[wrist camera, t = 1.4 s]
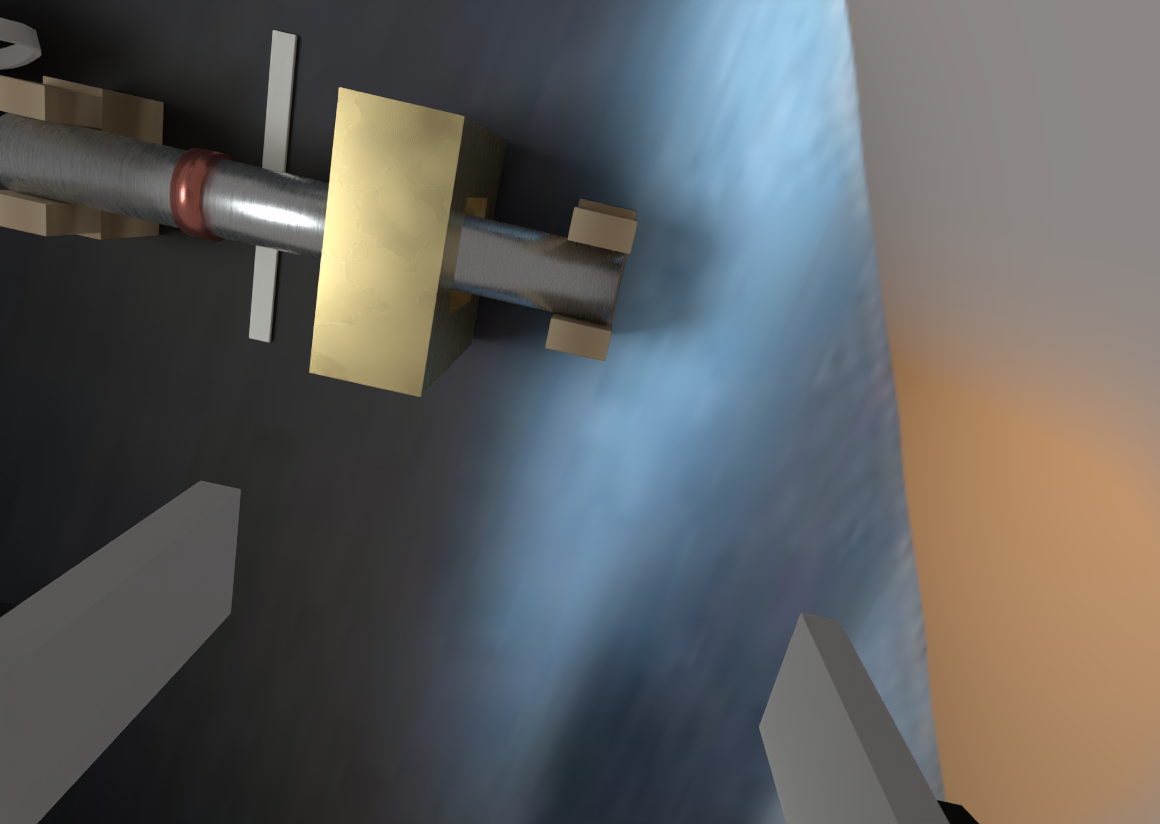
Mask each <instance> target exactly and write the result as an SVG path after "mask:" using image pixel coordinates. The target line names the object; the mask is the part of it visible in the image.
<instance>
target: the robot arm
mask: <svg viewBox="0 0 1160 824" xmlns="http://www.w3.org/2000/svg"><path fill="white" fill-rule="evenodd" d="M240 493H241V489H236V488H232V487H227V486H222V485H218V484H213V483H209V482H204V481H200V482H198V483H197V484H195V485H194V486H192V487H191V488H189V489H188V490H186V491H185V492H183V493H182V494H181V495H179V496H178V497H176V498H175V499H173V500H172V501H170V502H169V503H167V504H166V505H164V506H163V507H162V508H160V509H159V510H157V511H156V512H154V513H153V514H151V515H150V516H148V517H147V518H145V519H144V520H142V521H141V522H140V523H138V524H137V525H135V526H134V527H132V528H131V529H129V530H128V531H126V532H125V533H123V534H122V535H121V536H119V537H118V538H116V539H115V540H113V541H112V542H110V543H109V544H107V545H106V546H104V547H103V548H102V549H100V550H99V551H97V552H96V553H94V554H93V555H91V556H90V557H88V558H87V559H85V560H84V561H82V562H81V563H80V564H78V565H77V566H75V567H74V568H72V569H71V570H69V571H68V572H66V573H65V574H63V575H62V576H61V577H59V578H58V579H56V580H55V581H53V582H52V583H50V584H49V585H47V586H46V587H44V588H43V589H42V590H40V591H39V592H37V593H36V594H34V595H33V596H31V597H30V598H28V599H27V600H25V601H24V602H23V603H21V604H20V605H18V606H17V605H12V604H7V603H3V602H0V824H37V823H38V822H39V821H40V820H41V818H42V817H43V816H44V815H45V814H46V813H47V812H48V811H49V810H50V809H51V808H52V807H53V805H54V804H55V803H56V802H57V801H58V800H59V799H60V798H61V797H62V796H63V795H64V793H65V792H66V791H67V790H68V789H69V788H70V787H71V786H72V785H73V784H74V783H75V782H76V780H77V779H78V778H79V777H80V776H81V775H82V774H83V773H84V772H85V771H86V770H87V769H88V767H89V766H90V765H91V764H92V763H93V762H94V761H95V760H96V759H97V758H98V757H99V755H100V754H101V753H102V752H103V751H104V750H105V749H106V748H107V747H108V746H109V745H110V744H111V742H112V741H113V740H114V739H115V738H116V737H117V736H118V735H119V734H120V733H121V732H122V731H123V729H124V728H125V727H126V726H127V725H128V724H129V723H130V722H131V721H132V720H133V719H134V717H135V716H136V715H137V714H138V713H139V712H140V711H141V710H142V709H143V708H144V707H145V706H146V704H147V703H148V702H149V701H150V700H151V699H152V698H153V697H154V696H155V695H156V694H157V693H158V691H159V690H160V689H161V688H162V687H163V686H164V685H165V684H166V683H167V682H168V681H169V680H170V678H171V677H172V676H173V675H174V674H175V673H176V672H177V671H178V670H179V669H180V668H181V666H182V665H183V664H184V663H185V662H186V661H187V660H188V659H189V658H190V657H191V656H192V655H193V653H194V652H195V651H196V650H197V649H198V648H199V647H200V646H201V645H202V644H203V643H204V642H205V640H206V639H207V638H208V637H209V636H210V635H211V634H212V633H213V632H214V631H215V630H216V628H217V627H218V626H219V625H220V624H221V623H222V622H223V621H224V620H225V619H226V618H227V617H228V615H229V614H230V613H231V602H232V590H233V578H234V566H235V554H236V541H237V529H238V517H239V505H240ZM759 729H760V732H761V736H762V739H763V743H764V746H765V750H766V753H767V757H768V761H769V764H770V768H771V771H772V775H773V778H774V782H775V785H776V789H777V793H778V796H779V800H780V803H781V807H782V810H783V814H784V817H785V821H786V824H979V823H978V822H977V821H976V820H975V819H974V818H973V817H972V816H971V815H970V814H969V813H968V812H967V811H966V810H965V809H964V807H963V806H962V805H957V804H952V803H948V802H943V801H939V800H936V798H935V796H934V794H933V793H932V791H931V789H930V787H929V785H928V783H927V781H926V780H925V778H924V776H923V774H922V772H921V770H920V769H919V767H918V765H917V763H916V761H915V759H914V758H913V756H912V754H911V752H910V750H909V748H908V747H907V745H906V743H905V741H904V739H903V737H902V735H901V734H900V732H899V730H898V728H897V726H896V724H895V723H894V721H893V719H892V717H891V715H890V713H889V712H888V710H887V708H886V706H885V704H884V702H883V701H882V699H881V697H880V695H879V693H878V691H877V689H876V688H875V686H874V684H873V682H872V680H871V678H870V677H869V675H868V673H867V671H866V669H865V667H864V666H863V664H862V662H861V660H860V658H859V656H858V655H857V653H856V651H855V649H854V647H853V645H852V643H851V642H850V640H849V638H848V636H847V634H846V632H845V631H844V629H843V627H842V625H841V623H840V621H837V620H833V619H828V618H823V617H819V616H814V615H810V614H805V613H800V616H799V619H798V622H797V624H796V627H795V630H794V633H793V635H792V638H791V641H790V644H789V646H788V649H787V652H786V655H785V657H784V660H783V663H782V665H781V668H780V671H779V674H778V676H777V679H776V682H775V685H774V687H773V690H772V693H771V696H770V698H769V701H768V704H767V707H766V709H765V712H764V715H763V718H762V720H761V723H760V726H759Z"/></svg>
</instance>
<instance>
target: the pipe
mask: <svg viewBox="0 0 1160 824" xmlns="http://www.w3.org/2000/svg"><path fill="white" fill-rule="evenodd" d="M0 183H1V184H2V185H3V186H5V187H6V188H8V189H10V190H13V191H17V192H21V193H26V194H30V195H35V196H39V197H44V198H48V199H52V200H57V201H61V202H66V203H70V204H75V205H79V206H84V207H88V208H92V209H97V210H101V211H106V212H110V213H115V214H119V215H123V216H128V217H132V218H137V219H141V220H146V221H150V222H155V223H159V224H163V225H168V226H172V227H177V228H179V229H180V230H181V231H182V232H183V233H184V234H186V235H189V236H194V237H198V238H203V239H207V240H211V241H221V240H224V239H225V238H226V239H230V240H234V241H239V242H243V243H248V244H252V245H257V246H261V247H265V248H270V249H274V250H279V251H283V252H288V253H292V254H297V255H301V256H305V257H310V258H314V259H319V260H321V257H322V247H323V238H324V228H325V219H326V209H327V200H328V190H329V183H327V182H323V181H319V180H314V179H310V178H305V177H301V176H297V175H292V174H288V173H283V172H279V171H275V170H270V169H266V168H261V167H257V166H253V165H248V164H244V163H240V162H235V161H234V160H233V158H232V157H230V156H229V155H227V154H224V153H220V152H215V151H211V150H206V149H202V148H191V149H189V150H183V149H178V148H174V147H169V146H165V145H161V144H156V143H152V142H147V141H143V140H139V139H134V138H130V137H126V136H121V135H117V134H112V133H108V132H104V131H99V130H95V129H90V128H86V127H82V126H77V125H72V124H64V123H57V122H50V121H44V120H39V119H35V118H30V117H26V116H22V115H17V114H13V113H6V114H4V115H2V116H1V117H0ZM623 256H624V253H623V252H618V251H614V250H610V249H605V248H601V247H596V246H592V245H588V244H583V243H579V242H574V241H570V240H568V237H564V236H560V235H555V234H551V233H547V232H542V231H538V230H533V229H529V228H525V227H520V226H516V225H511V224H507V223H503V222H498V221H494V220H490V219H485V218H481V217H476V216H472V215H468V214H464V220H463V226H462V232H461V238H460V244H459V251H458V257H457V263H456V269H455V275H454V281H453V287H452V290H456V291H461V292H465V293H470V294H474V295H478V296H483V297H487V298H492V299H496V300H501V301H505V302H510V303H514V304H518V305H523V306H527V307H532V308H536V309H541V310H545V311H549V312H554V313H558V314H563V315H567V316H572V317H576V318H581V319H585V320H589V321H594V322H598V323H603V324H608V321H609V318H610V314H611V310H612V306H613V302H614V298H615V294H616V290H617V285H618V281H619V276H620V272H621V267H622V262H623Z"/></svg>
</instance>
